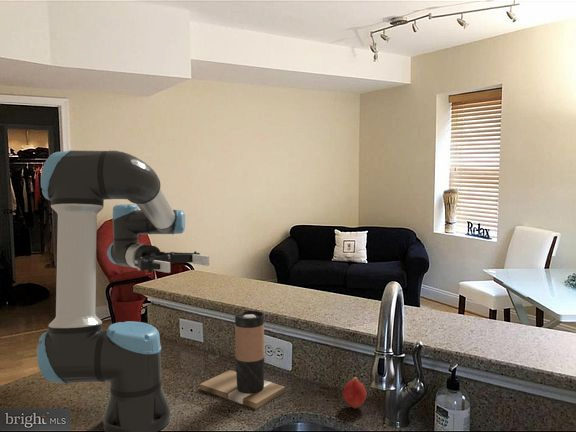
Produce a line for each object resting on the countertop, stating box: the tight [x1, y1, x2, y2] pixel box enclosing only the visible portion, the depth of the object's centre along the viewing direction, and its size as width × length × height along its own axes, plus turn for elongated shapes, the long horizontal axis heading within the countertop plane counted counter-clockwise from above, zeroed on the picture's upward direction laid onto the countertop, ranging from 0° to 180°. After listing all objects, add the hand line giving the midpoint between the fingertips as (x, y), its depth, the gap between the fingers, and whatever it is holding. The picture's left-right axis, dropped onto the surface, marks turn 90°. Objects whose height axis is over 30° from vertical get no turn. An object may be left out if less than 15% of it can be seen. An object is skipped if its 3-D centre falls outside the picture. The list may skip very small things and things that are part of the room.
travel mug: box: [234, 310, 265, 394], centre depth 134 cm, size 8×8×20 cm
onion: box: [342, 376, 367, 409], centre depth 126 cm, size 6×6×8 cm
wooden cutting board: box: [199, 369, 286, 410], centre depth 137 cm, size 20×12×2 cm, turn 54°
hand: (189, 264), depth 140 cm, fingers open, 13 cm apart
